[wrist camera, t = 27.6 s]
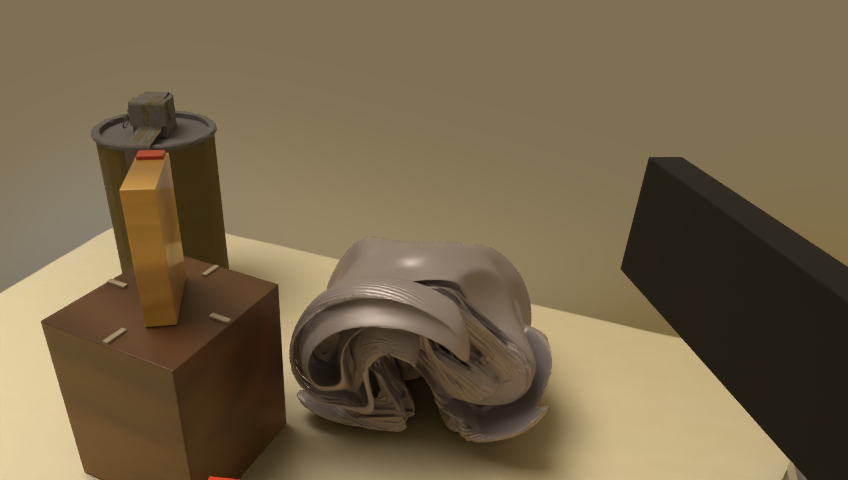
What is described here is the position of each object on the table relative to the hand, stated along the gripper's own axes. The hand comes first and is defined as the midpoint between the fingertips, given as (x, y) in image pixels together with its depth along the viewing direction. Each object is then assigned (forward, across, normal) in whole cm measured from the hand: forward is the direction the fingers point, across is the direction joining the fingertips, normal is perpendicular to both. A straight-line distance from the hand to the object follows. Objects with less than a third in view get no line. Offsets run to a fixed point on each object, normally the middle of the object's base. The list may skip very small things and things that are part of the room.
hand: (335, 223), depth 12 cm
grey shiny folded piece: (+27, +8, -31) cm, 42 cm away
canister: (+45, -14, -31) cm, 56 cm away
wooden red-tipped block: (+24, -9, -17) cm, 31 cm away
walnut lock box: (+24, -10, -30) cm, 40 cm away
